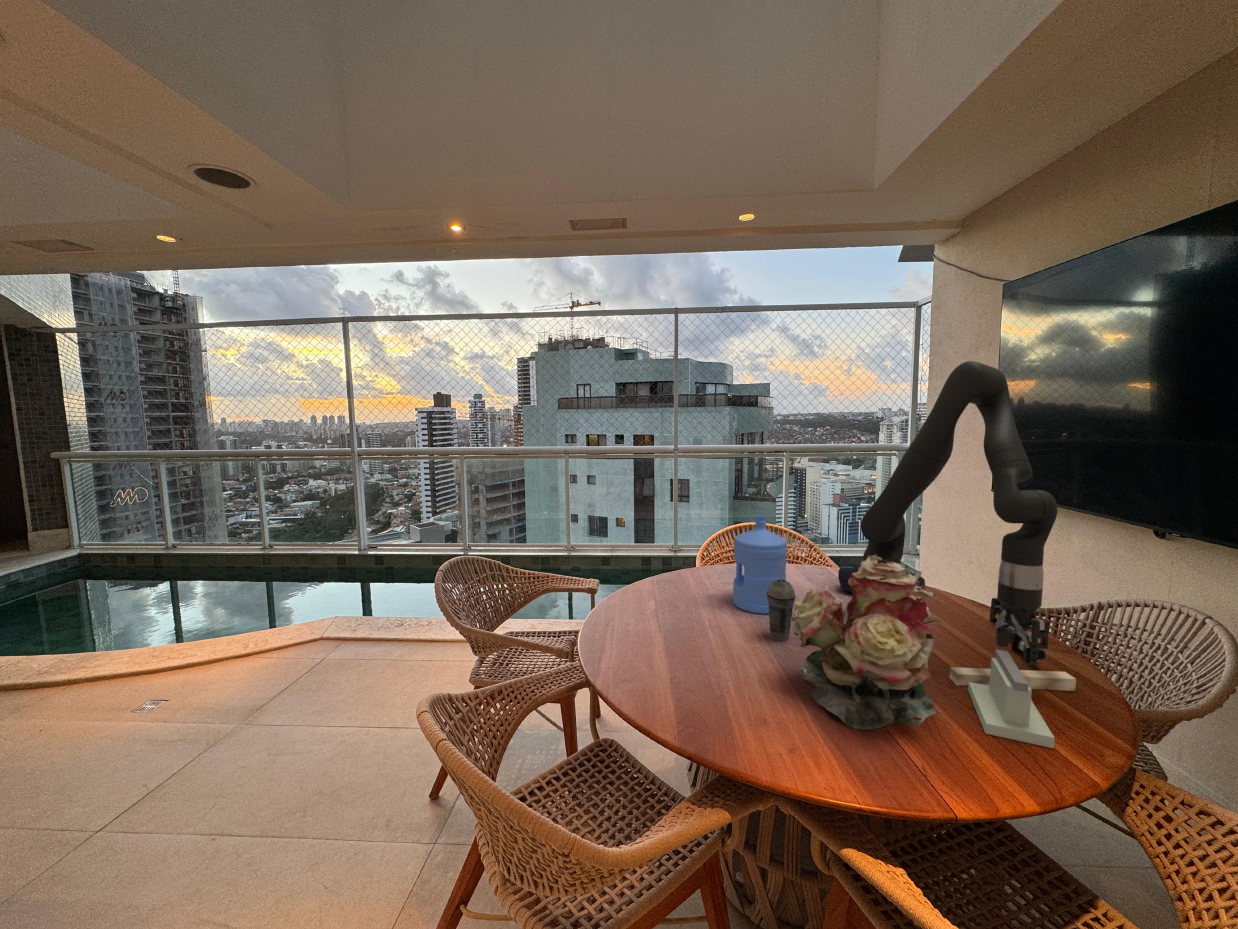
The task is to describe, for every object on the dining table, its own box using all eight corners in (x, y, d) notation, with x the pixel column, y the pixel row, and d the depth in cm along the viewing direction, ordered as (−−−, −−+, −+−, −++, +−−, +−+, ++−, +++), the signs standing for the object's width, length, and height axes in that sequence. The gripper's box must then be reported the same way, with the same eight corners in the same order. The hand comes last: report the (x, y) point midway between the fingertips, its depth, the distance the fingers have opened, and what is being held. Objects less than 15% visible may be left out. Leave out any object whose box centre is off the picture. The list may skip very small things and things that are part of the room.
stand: (1053, 748, 90) (1058, 692, 89) (985, 733, 94) (989, 679, 93) (1026, 701, 104) (1030, 653, 103) (967, 690, 108) (971, 643, 107)
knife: (1046, 670, 114) (1047, 650, 114) (1030, 667, 115) (1031, 648, 115) (1002, 631, 143) (1003, 615, 142) (989, 629, 144) (990, 613, 144)
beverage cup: (794, 633, 136) (796, 561, 134) (794, 645, 129) (796, 569, 127) (766, 630, 139) (768, 558, 137) (764, 641, 132) (766, 566, 130)
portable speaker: (833, 593, 167) (834, 563, 166) (842, 585, 175) (843, 557, 174) (920, 612, 151) (922, 579, 150) (926, 602, 159) (928, 571, 158)
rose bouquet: (777, 666, 119) (782, 541, 116) (904, 667, 118) (911, 542, 115) (817, 735, 93) (823, 577, 90) (978, 738, 93) (990, 578, 90)
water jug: (790, 602, 159) (793, 514, 156) (776, 619, 146) (779, 523, 143) (742, 592, 167) (744, 509, 165) (725, 608, 154) (727, 517, 151)
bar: (956, 687, 110) (957, 674, 110) (949, 680, 113) (950, 667, 113) (1074, 692, 108) (1076, 679, 108) (1064, 684, 111) (1065, 671, 111)
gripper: (1065, 594, 101) (1059, 671, 103) (1015, 572, 115) (1010, 640, 117) (1025, 593, 102) (1020, 670, 103) (980, 572, 116) (976, 640, 117)
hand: (1015, 654), depth 110 cm, fingers open, 8 cm apart
